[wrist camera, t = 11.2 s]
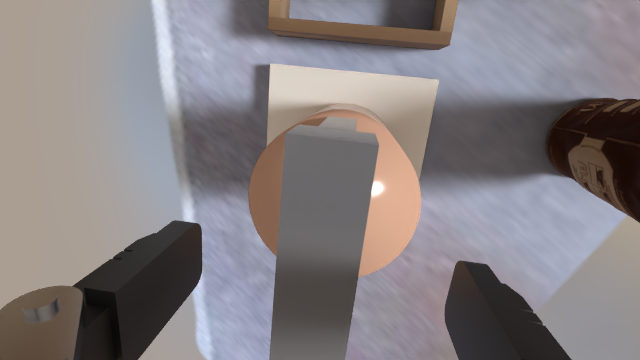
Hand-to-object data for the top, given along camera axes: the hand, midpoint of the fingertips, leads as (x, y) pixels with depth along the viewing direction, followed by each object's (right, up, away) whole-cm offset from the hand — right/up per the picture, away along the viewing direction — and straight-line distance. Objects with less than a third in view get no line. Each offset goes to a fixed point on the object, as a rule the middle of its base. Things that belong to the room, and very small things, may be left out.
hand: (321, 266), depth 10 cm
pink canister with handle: (+2, +5, +16) cm, 17 cm away
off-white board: (+2, +5, +17) cm, 18 cm away
